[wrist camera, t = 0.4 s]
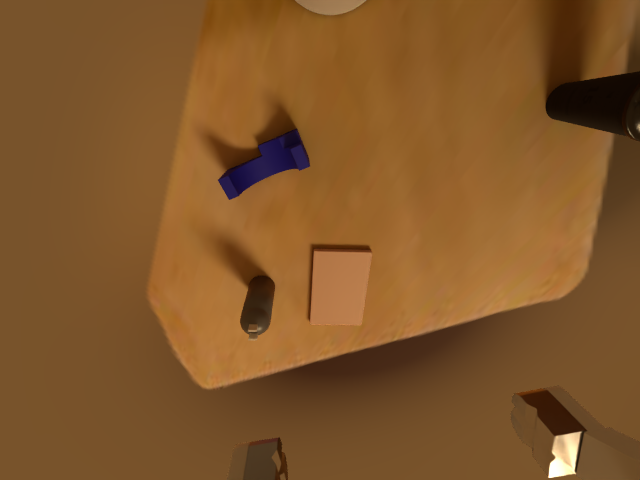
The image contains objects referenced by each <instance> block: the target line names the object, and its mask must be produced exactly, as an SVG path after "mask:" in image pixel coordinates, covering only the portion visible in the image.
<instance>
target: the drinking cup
mask: <svg viewBox="0 0 640 480" xmlns="http://www.w3.org/2000/svg"><path fill="white" fill-rule="evenodd" d="M546 111H547V114H548V116H549V117H550V118H552V119H555V120H560V121H564V122H568V123H572V124H577V125H581V126H585V127H589V128H594V129H598V130H602V131H607V132H611V133H615V134H619V135H624V136H628V137H630V138H631V139H633V140H635V141H638V142H640V71H639V72H633V73H627V74H621V75H614V76H608V77H602V78H596V79H590V80H584V81H577V82H571V83H565V84H562V85H560V86H559V87H557V88H556V89H555V90H554V91H553V92H552V93H551V94H550V96H549V98H548V100H547V103H546Z"/></svg>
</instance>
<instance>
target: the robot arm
mask: <svg viewBox="0 0 640 480" xmlns="http://www.w3.org/2000/svg"><path fill="white" fill-rule="evenodd" d="M295 1H296V2H297V3H299V4H300V5H301V6H303V7H305V8H306V9H308V10H310V11H313V12H315V13H319V14H324V15H337V14H342V13H346V12H349V11H351V10H353V9H355V8H357V7H358V6H360V5H361V4H362V3H364V2H365V1H366V0H295ZM512 403H513V404H514V405H515V407H514V408H513V410H512V411H511V421H512V424H513V428H514V429H515V431H516V433H517V435H518V436H519V438H520V439H521V441H522V442H523V443H525V444H526V445H528V446H529V447H531V448H532V451H533V457H534V458H535V460H536V461H537V463H538V464H539V465H540V467H541V468H542V469H543V471H544V472H545V473H546V475H547V476H548V477H556V476H563V475H569V474H576V475H577V476H578V477H579V478H581V479H582V480H640V442H639V441H637V440H635V439H633V438H631V437H629V436H627V435H625V434H623V433H620V432H618V431H616V430H614V429H612V428H610V427H609V428H605V427H604V426H603V425H601V424H600V423H599V422H598V421H597V420H596V419H595V418H594V417H593V416H592V415H591V414H590V413H589V412H588V411H587V410H586V409H584V408H583V407H582V406H581V405H580V404H579V403H578V402H577V401H576V400H575V399H574V398H573V397H572V396H571V395H570V394H569V393H568V392H567V391H565V390H564V389H563V388H562V387H560V386H553V387H547V388H543V389H542V388H540V389H535V390H530V391H526V392H520V393H515V394H514V395H513V396H512ZM227 480H288V469H287V461H286V456H285V453H283V452H282V442H281V439H280V437H278V438H272V439H265V440H259V441H252V442H246V443H240V444H236V445H235V447H234V449H233V453H232V457H231V462H230V467H229V472H228V477H227Z"/></svg>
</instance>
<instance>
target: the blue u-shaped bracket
mask: <svg viewBox="0 0 640 480" xmlns="http://www.w3.org/2000/svg"><path fill="white" fill-rule="evenodd" d="M258 148H259V150H260V152H261V154H262V155H261V156H259V157H257V158H254V159H252V160H250V161H247V162H245V163H243V164H240V165H238V166H236V167H233V168H231V169H229V170H227V171H226V172H225V173H224V174H223V175H222V176H221V177H220V178H219V179H218V181H219V183H220V185H221V186H222V188H223V190H224V192H225V193H226V195H227V197H228V199H229V200H230V199H233V198H235V197H237V196H239V195H240V194H241V193H242V192H243V191H244V190H246V189H247V188H249V187H250V186H252V185H253V184H255V183H257V182H259V181H261V180H263V179H265V178H267V177H269V176H271V175H274V174H276V173H279V172H282V171H285V170H289V169H299V171H300V170H302V169H305V168H307V167H310V163H309V157H308V155H307V152H306V150H305V147H304V145H303V142H302V140H301V138H300V135H299V133H298V130H297V129H294V130H292V131H290V132H287V133H285V134H283V135H281V136H278V137H276V138H274V139H271V140H269V141H267V142H264V143H262V144H260V145H258Z"/></svg>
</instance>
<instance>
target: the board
mask: <svg viewBox="0 0 640 480" xmlns="http://www.w3.org/2000/svg"><path fill="white" fill-rule="evenodd" d="M371 258H372V251H371V250H353V249H314V255H313V274H312V292H311V311H310V325H362V318H363V311H364V304H365V298H366V291H367V284H368V278H369V271H370V264H371Z"/></svg>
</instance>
